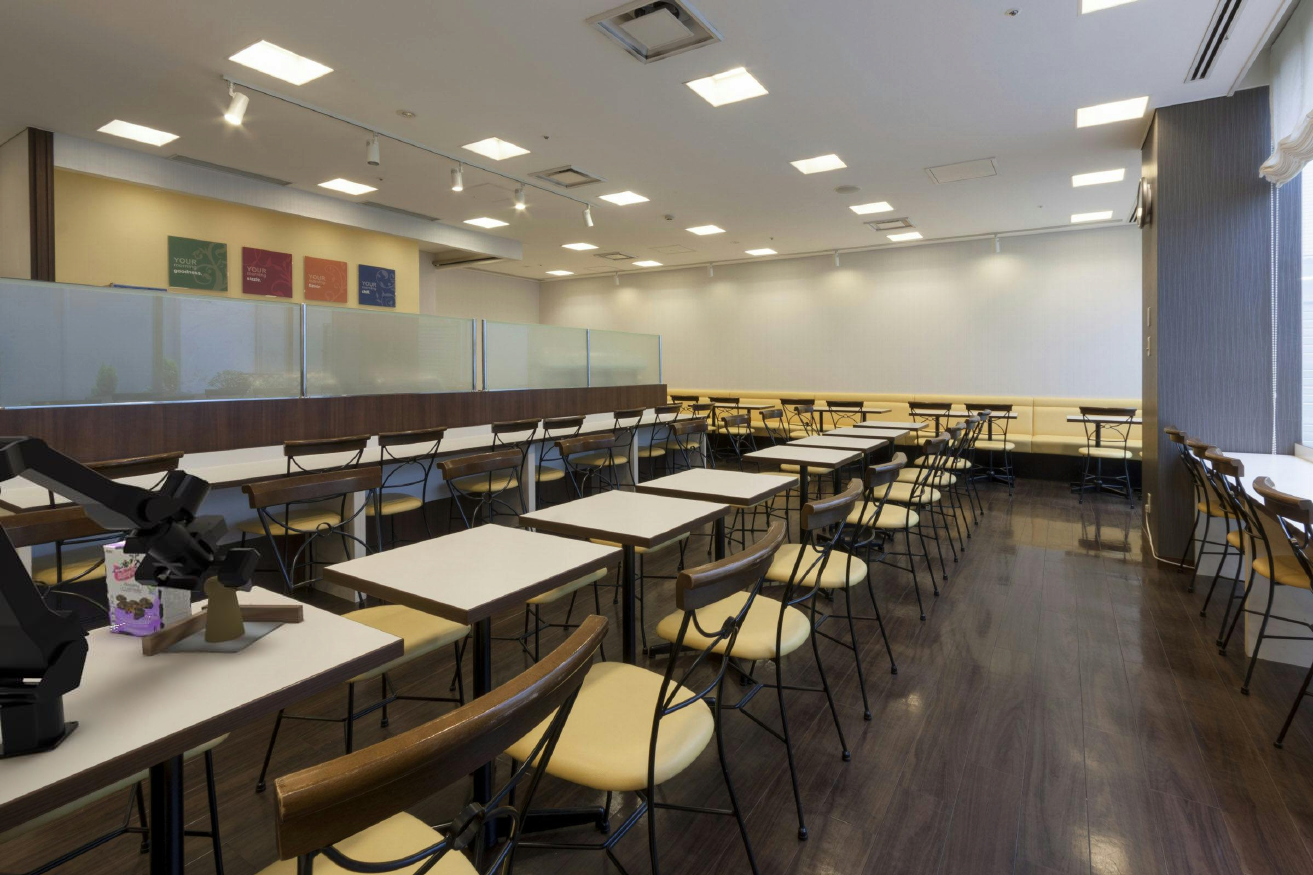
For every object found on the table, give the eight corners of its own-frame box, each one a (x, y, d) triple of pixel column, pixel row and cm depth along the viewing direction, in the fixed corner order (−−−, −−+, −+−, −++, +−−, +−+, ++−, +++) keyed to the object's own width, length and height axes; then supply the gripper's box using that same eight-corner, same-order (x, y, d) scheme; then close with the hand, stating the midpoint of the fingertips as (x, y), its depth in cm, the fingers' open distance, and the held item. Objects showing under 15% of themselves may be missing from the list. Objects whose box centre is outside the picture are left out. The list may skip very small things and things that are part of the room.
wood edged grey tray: (243, 656, 105) (242, 639, 105) (134, 655, 106) (132, 638, 106) (303, 620, 122) (302, 604, 121) (208, 619, 123) (207, 604, 122)
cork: (237, 640, 111) (233, 579, 110) (198, 644, 110) (193, 582, 109) (250, 627, 117) (246, 569, 116) (213, 631, 116) (209, 572, 115)
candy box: (108, 632, 117) (100, 544, 115) (142, 621, 122) (135, 537, 121) (162, 640, 112) (155, 549, 111) (195, 628, 118) (188, 541, 117)
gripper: (249, 502, 106) (293, 550, 118) (143, 502, 107) (197, 549, 119) (218, 561, 99) (268, 605, 111) (104, 560, 100) (166, 605, 112)
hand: (225, 589), depth 114 cm, fingers open, 9 cm apart
